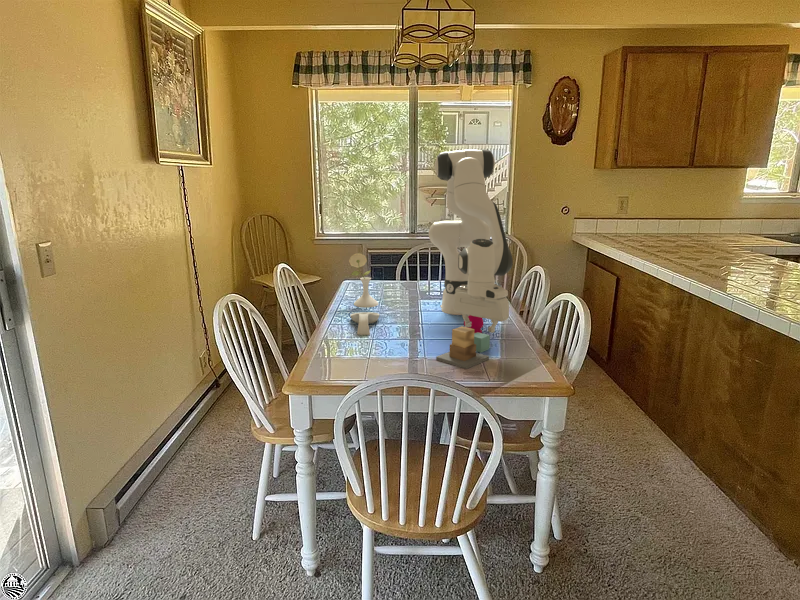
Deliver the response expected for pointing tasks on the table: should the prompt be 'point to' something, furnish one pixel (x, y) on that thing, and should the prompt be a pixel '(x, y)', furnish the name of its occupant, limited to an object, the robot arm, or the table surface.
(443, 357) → the build board
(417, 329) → the table surface
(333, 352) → the table surface
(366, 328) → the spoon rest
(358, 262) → the flower in vase
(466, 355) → the base block
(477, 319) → the pepper mill
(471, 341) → the block
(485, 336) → the block
